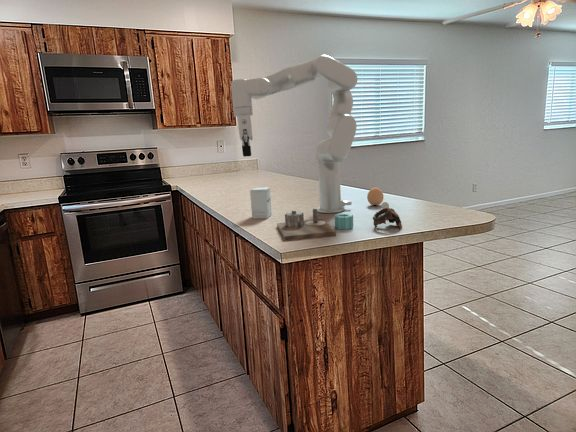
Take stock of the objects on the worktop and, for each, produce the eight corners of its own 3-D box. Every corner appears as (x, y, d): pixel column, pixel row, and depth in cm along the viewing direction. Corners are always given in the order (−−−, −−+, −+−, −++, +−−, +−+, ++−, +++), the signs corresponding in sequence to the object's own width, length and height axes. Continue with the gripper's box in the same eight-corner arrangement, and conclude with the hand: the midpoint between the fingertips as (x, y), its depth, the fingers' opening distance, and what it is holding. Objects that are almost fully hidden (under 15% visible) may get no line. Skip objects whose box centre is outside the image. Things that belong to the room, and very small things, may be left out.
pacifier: (396, 219, 156) (393, 215, 161) (396, 204, 154) (393, 200, 160) (377, 220, 156) (375, 216, 162) (377, 204, 155) (375, 201, 160)
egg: (386, 204, 183) (386, 186, 181) (378, 207, 178) (378, 189, 176) (372, 203, 188) (372, 185, 186) (364, 206, 182) (364, 188, 181)
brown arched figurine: (402, 232, 138) (390, 213, 136) (378, 241, 143) (367, 223, 141) (407, 216, 147) (395, 198, 146) (384, 225, 153) (373, 208, 151)
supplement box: (268, 218, 169) (266, 189, 167) (251, 218, 171) (249, 189, 168) (272, 214, 176) (270, 186, 174) (256, 214, 178) (254, 187, 175)
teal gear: (350, 224, 151) (349, 212, 150) (355, 228, 145) (355, 216, 144) (332, 225, 150) (332, 214, 149) (337, 230, 144) (337, 218, 143)
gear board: (322, 222, 156) (321, 205, 155) (335, 235, 137) (335, 215, 135) (277, 226, 154) (276, 209, 152) (284, 240, 135) (283, 220, 133)
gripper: (253, 110, 149) (257, 156, 152) (251, 112, 165) (255, 153, 169) (233, 111, 148) (237, 157, 152) (233, 113, 165) (237, 154, 168)
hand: (246, 155), depth 160 cm, fingers open, 9 cm apart
